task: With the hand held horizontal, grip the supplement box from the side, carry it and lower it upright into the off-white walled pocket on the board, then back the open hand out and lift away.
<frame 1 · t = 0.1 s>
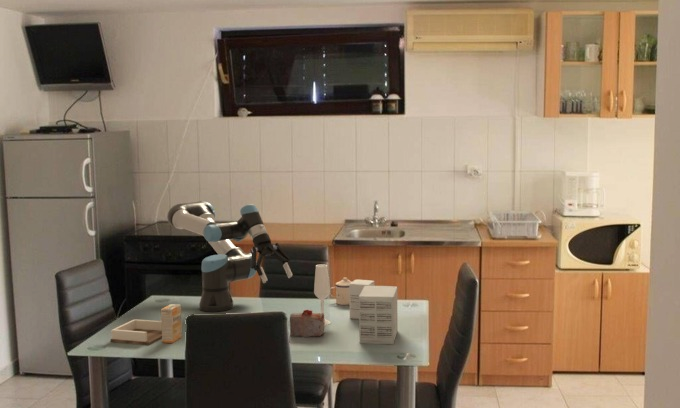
hand: (278, 279, 297), 15 cm above the table, tool tilted 35°, fingers open, 13 cm apart
supplement box: (172, 340, 265), on the table
champagne flute: (322, 323, 284), on the table
supplement box 3: (362, 317, 293), on the table
walled holder: (140, 337, 269), on the table
supplement box 2: (378, 337, 264), on the table
food item: (307, 335, 268), on the table
teacup with lid: (342, 303, 316), on the table
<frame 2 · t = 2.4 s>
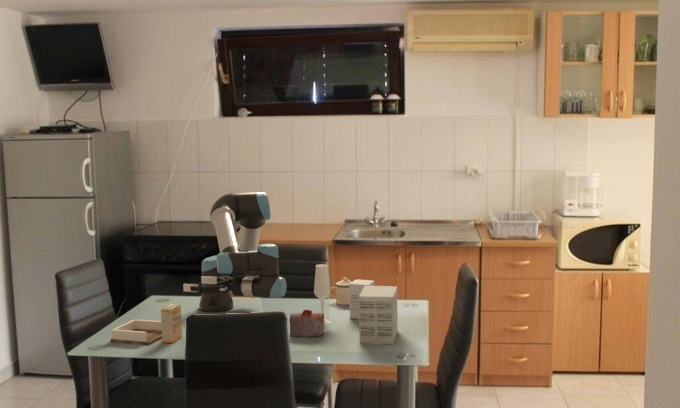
hand: (192, 283, 260), 22 cm above the table, tool horizontal, fingers open, 13 cm apart
nothing on the table moved.
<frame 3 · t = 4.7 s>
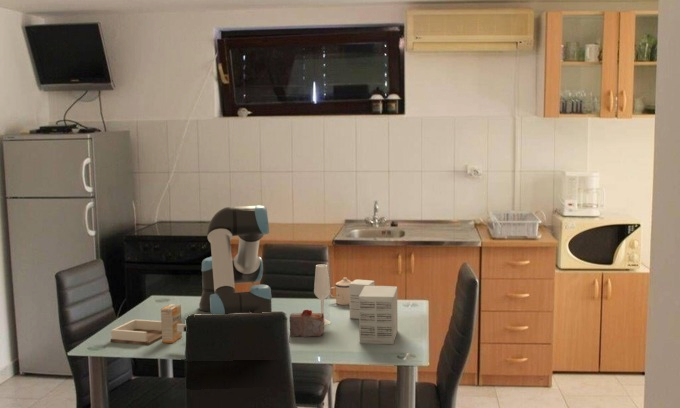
hand: (186, 322, 262), 7 cm above the table, tool horizontal, fingers open, 13 cm apart
nothing on the table moved.
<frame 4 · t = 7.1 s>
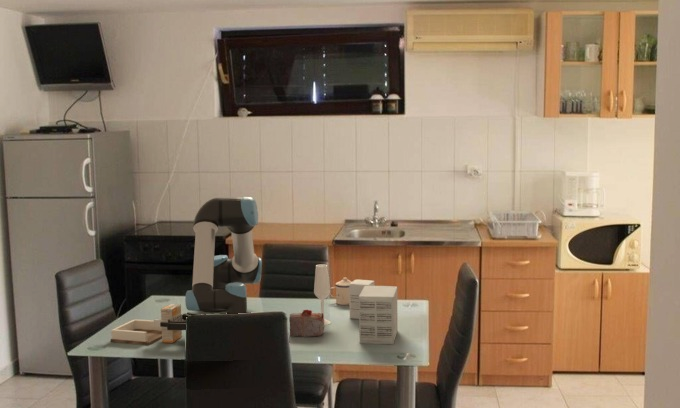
hand: (160, 319, 266), 8 cm above the table, tool horizontal, fingers closed on supplement box, 8 cm apart
supplement box: (172, 340, 265), on the table, touching gripper
everything else where it was.
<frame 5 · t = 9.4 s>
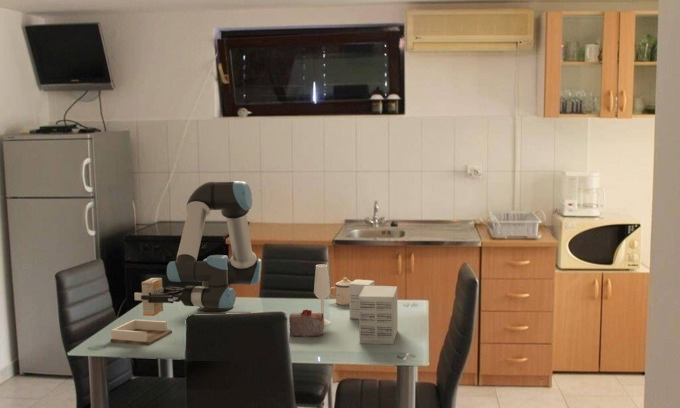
hand: (141, 293, 266), 18 cm above the table, tool horizontal, fingers closed on supplement box, 8 cm apart
supplement box: (153, 313, 265), point 10 cm above the table, touching gripper
everything else where it was.
when the fingers open (10 cm above the table, at t = 12.1 s): supplement box drops 2 cm, resting on walled holder.
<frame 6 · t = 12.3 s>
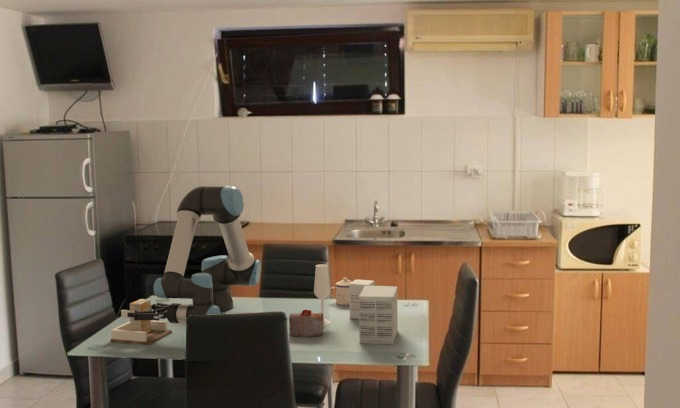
hand: (129, 310, 269), 10 cm above the table, tool horizontal, fingers open, 10 cm apart
supplement box: (141, 334, 269), point 1 cm above the table, touching walled holder
everything else where it was.
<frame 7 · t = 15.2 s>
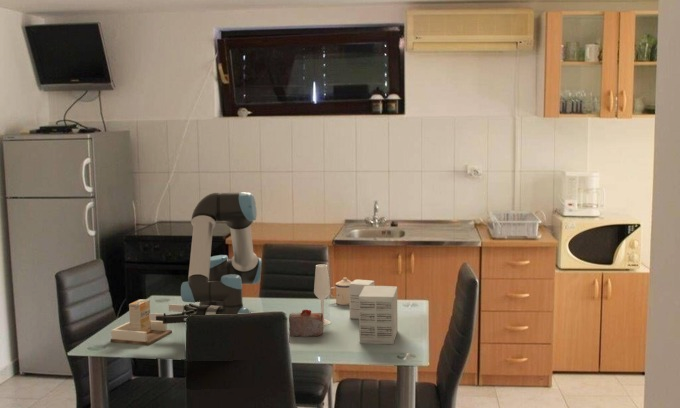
hand: (159, 312, 265), 11 cm above the table, tool horizontal, fingers open, 13 cm apart
nothing on the table moved.
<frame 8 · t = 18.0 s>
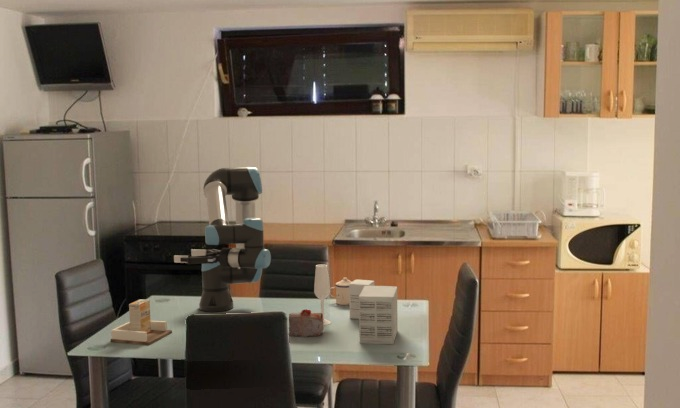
hand: (183, 255, 276), 30 cm above the table, tool horizontal, fingers open, 13 cm apart
nothing on the table moved.
at the end: supplement box 0.3 cm off-centre on the walled holder, point 0.8 cm above the walled holder's base; supplement box tilted 0°; the gripper is holding nothing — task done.
